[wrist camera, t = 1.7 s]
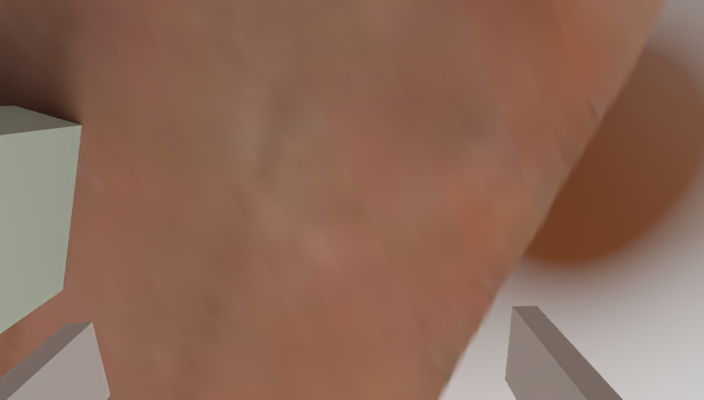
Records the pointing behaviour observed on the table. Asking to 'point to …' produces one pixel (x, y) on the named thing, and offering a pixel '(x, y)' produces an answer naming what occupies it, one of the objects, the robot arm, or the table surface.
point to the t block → (34, 208)
